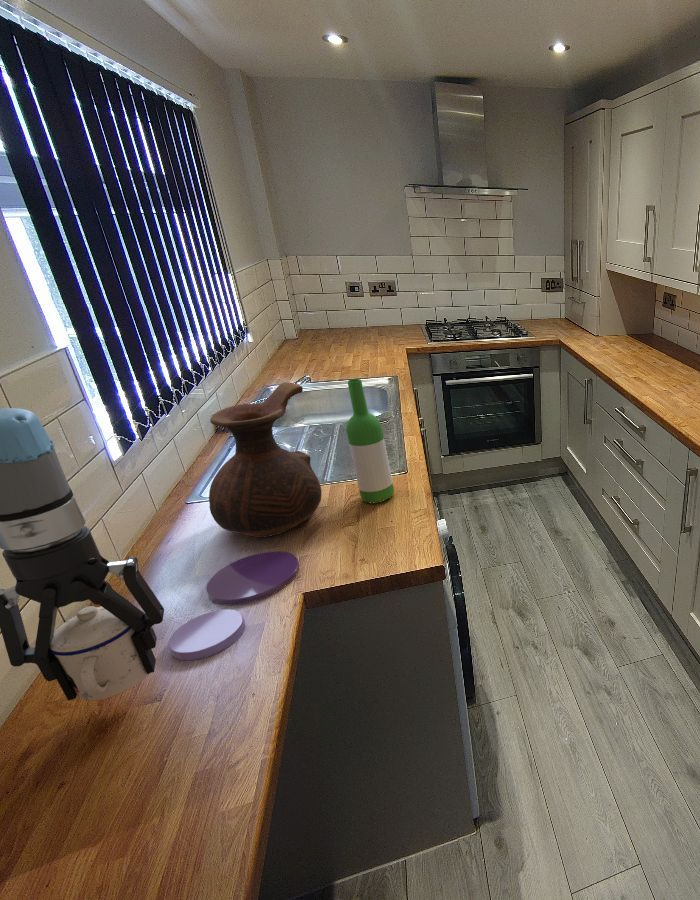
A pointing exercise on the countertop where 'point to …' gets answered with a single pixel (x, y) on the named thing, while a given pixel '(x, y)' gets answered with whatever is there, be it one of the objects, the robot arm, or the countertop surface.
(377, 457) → the wine bottle
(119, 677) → the teacup with lid
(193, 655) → the lilac dish
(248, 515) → the jug
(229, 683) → the countertop surface
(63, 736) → the countertop surface
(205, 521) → the countertop surface
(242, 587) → the saucer
